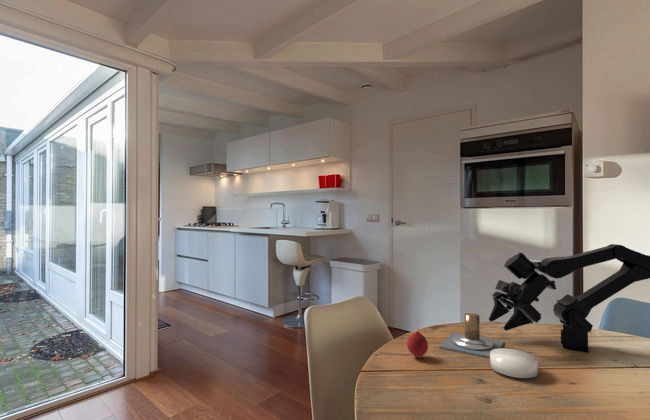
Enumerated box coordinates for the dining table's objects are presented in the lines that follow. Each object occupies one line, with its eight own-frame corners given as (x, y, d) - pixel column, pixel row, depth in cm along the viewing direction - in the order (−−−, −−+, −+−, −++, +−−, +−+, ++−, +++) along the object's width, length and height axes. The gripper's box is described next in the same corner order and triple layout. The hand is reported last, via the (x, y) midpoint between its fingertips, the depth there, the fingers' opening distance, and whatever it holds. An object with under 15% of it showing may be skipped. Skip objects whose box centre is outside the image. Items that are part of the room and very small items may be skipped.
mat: (503, 343, 112) (503, 341, 112) (495, 359, 99) (495, 357, 99) (452, 334, 121) (452, 332, 121) (439, 348, 108) (439, 346, 108)
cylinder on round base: (501, 345, 108) (501, 316, 108) (477, 353, 102) (476, 322, 102) (468, 335, 118) (467, 308, 119) (444, 341, 112) (443, 313, 112)
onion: (426, 354, 103) (425, 327, 103) (429, 362, 97) (429, 333, 98) (406, 353, 104) (405, 326, 104) (408, 361, 98) (408, 332, 98)
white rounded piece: (539, 369, 93) (538, 353, 93) (536, 385, 84) (536, 368, 84) (493, 359, 99) (493, 345, 99) (486, 374, 90) (486, 358, 90)
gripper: (497, 267, 120) (466, 300, 120) (529, 276, 102) (493, 315, 101) (520, 290, 120) (489, 323, 120) (557, 303, 101) (520, 342, 101)
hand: (496, 324), depth 110 cm, fingers open, 9 cm apart
